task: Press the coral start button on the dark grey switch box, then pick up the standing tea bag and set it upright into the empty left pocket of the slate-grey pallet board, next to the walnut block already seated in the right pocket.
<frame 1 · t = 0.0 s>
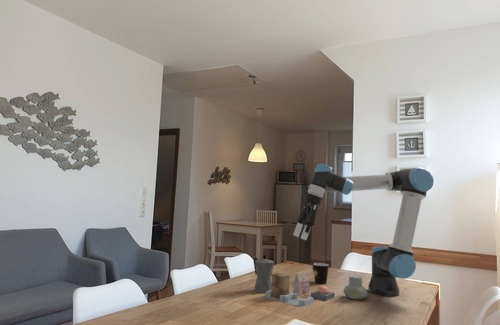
hand: (299, 237, 171), 28 cm above the table, tool tilted 20°, fingers open, 13 cm apart
coffee mug: (320, 282, 206), on the table
coffeepot: (261, 292, 178), on the table
start button: (322, 291, 170), point 4 cm above the table, slide at 0.0 cm
pallet board: (288, 301, 164), on the table
walnut block: (279, 297, 167), point 1 cm above the table, touching pallet board
air freshener: (355, 298, 174), on the table
switch box: (322, 299, 170), on the table
tea bag: (301, 295, 176), on the table
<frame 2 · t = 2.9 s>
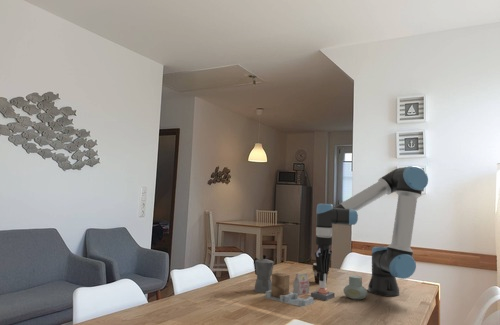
hand: (322, 287, 170), 5 cm above the table, tool pointing down, fingers closed
start button: (322, 292, 170), point 3 cm above the table, slide at 0.5 cm
everything else where it was.
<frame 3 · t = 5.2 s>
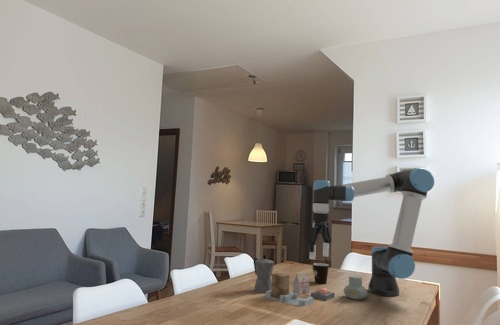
hand: (319, 257, 173), 19 cm above the table, tool pointing down, fingers open, 13 cm apart
nothing on the table moved.
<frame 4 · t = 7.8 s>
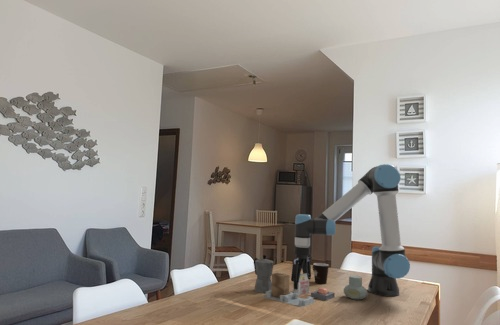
hand: (300, 294, 176), 0 cm above the table, tool pointing down, fingers closed on tea bag, 7 cm apart
tea bag: (301, 295, 176), on the table, touching gripper
everything else where it was.
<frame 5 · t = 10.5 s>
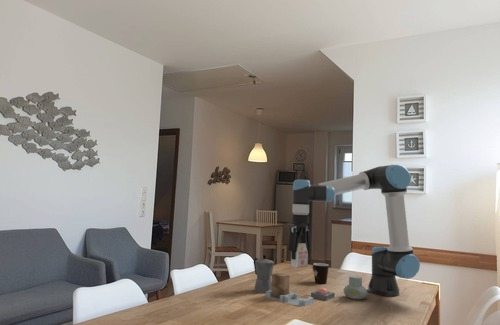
hand: (299, 265, 162), 16 cm above the table, tool pointing down, fingers closed on tea bag, 7 cm apart
tea bag: (299, 266, 162), point 16 cm above the table, touching gripper
everything else where it was.
when the fingers open (3 cm above the table, at t = 13.3 s): tea bag drops 1 cm, resting on pallet board.
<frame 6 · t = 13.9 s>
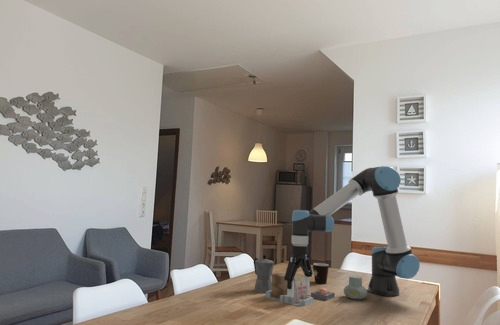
hand: (298, 293, 161), 4 cm above the table, tool pointing down, fingers open, 13 cm apart
tea bag: (298, 301, 161), point 1 cm above the table, touching pallet board
everything else where it was.
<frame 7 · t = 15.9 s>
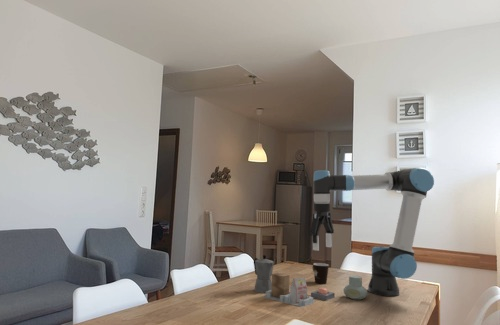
hand: (322, 248, 171), 23 cm above the table, tool pointing down, fingers open, 13 cm apart
nothing on the table moved.
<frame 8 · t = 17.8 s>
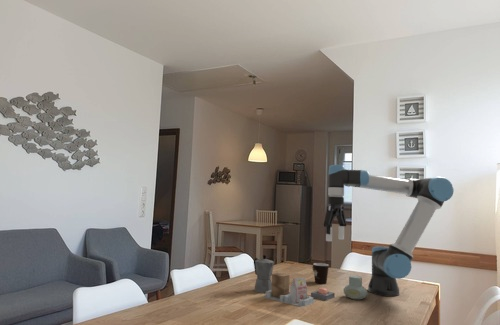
hand: (335, 240, 177), 27 cm above the table, tool pointing down, fingers open, 13 cm apart
nothing on the table moved.
at the end: tea bag inside the target area (0.1 cm from its centre), point 0.8 cm above the table; tea bag tilted 0°; start button slide at 0.8 cm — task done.
